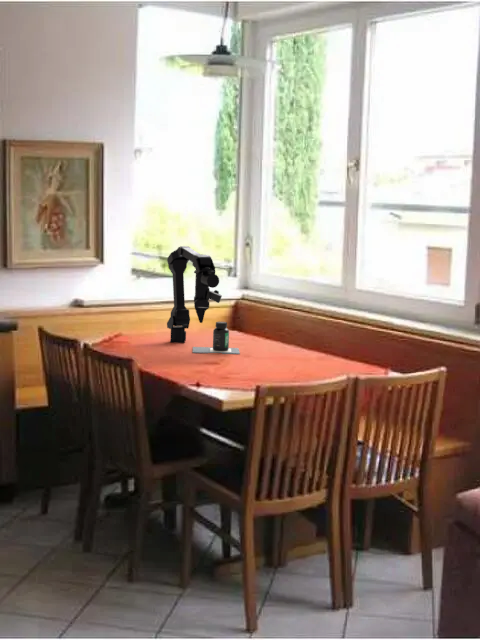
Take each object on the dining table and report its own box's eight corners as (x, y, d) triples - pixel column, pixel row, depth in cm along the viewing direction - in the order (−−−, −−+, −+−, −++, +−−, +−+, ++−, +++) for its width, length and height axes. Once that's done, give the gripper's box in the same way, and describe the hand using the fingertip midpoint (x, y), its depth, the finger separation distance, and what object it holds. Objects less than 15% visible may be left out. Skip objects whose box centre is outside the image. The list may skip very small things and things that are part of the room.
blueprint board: (192, 353, 401) (192, 351, 401) (192, 347, 413) (192, 346, 413) (239, 354, 402) (239, 353, 401) (238, 348, 414) (238, 347, 414)
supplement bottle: (230, 351, 405) (231, 323, 404) (215, 351, 403) (216, 323, 401) (225, 348, 412) (226, 321, 410) (210, 348, 410) (211, 321, 408)
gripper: (221, 288, 394) (220, 325, 397) (220, 282, 413) (218, 318, 415) (195, 287, 394) (193, 324, 396) (194, 282, 412) (193, 317, 414)
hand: (200, 321), depth 405 cm, fingers open, 9 cm apart
